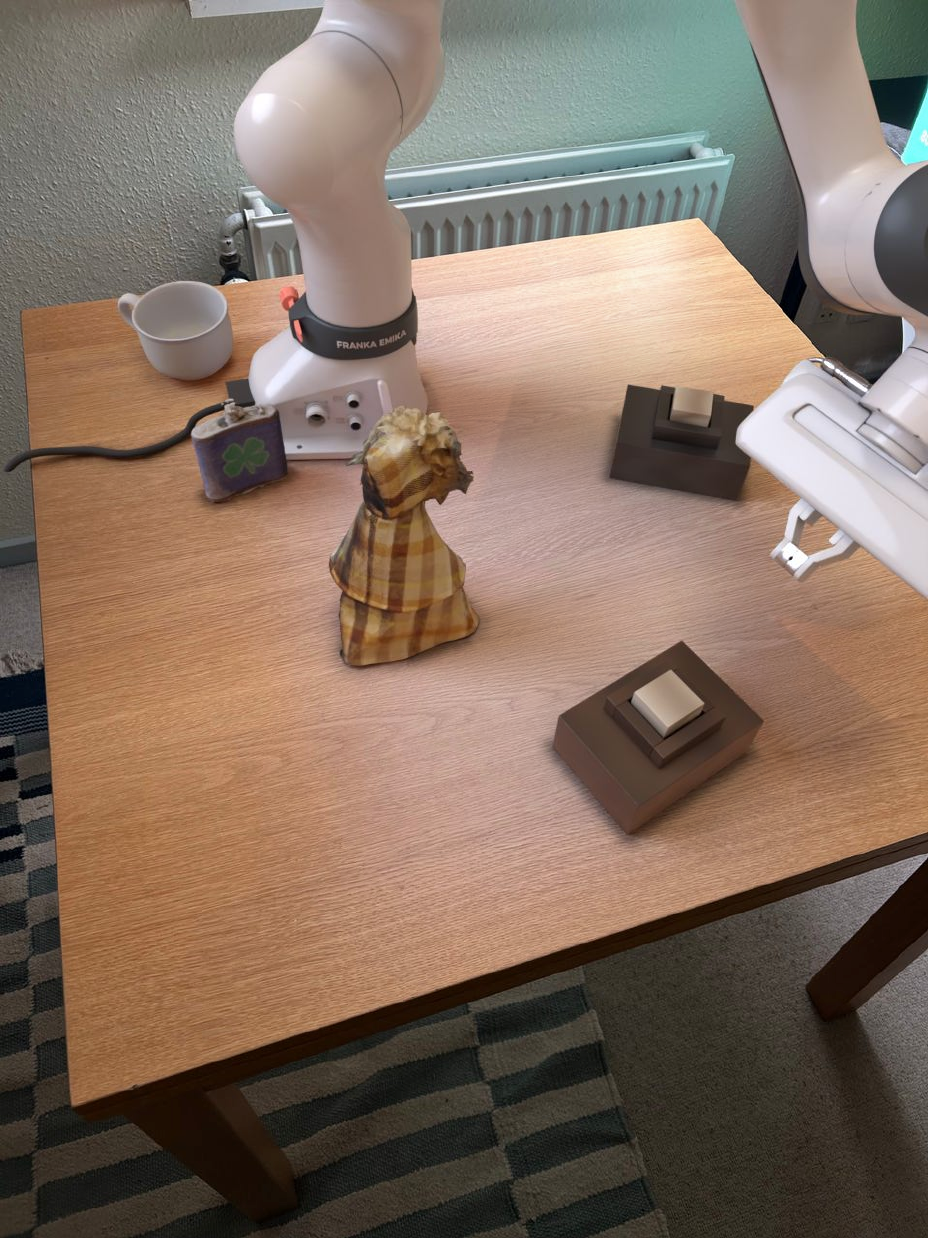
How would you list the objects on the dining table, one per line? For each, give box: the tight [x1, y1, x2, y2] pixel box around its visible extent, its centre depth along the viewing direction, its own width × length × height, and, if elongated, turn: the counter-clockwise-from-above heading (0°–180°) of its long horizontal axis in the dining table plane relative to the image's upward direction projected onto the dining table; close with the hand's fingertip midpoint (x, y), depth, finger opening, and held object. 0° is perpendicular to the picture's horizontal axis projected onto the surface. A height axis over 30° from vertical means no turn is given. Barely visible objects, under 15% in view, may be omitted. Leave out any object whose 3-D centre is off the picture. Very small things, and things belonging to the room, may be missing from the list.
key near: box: [631, 670, 704, 738], centre depth 74 cm, size 4×4×2 cm
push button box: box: [551, 640, 765, 836], centre depth 77 cm, size 14×10×7 cm
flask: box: [190, 398, 290, 503], centre depth 94 cm, size 9×3×11 cm, turn 121°
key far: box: [669, 385, 714, 427], centre depth 97 cm, size 4×4×2 cm
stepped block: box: [608, 384, 755, 502], centre depth 100 cm, size 14×10×7 cm
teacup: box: [117, 280, 234, 381], centre depth 108 cm, size 14×11×8 cm
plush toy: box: [328, 406, 481, 667], centre depth 79 cm, size 14×14×25 cm
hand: (785, 569), depth 68 cm, fingers closed
